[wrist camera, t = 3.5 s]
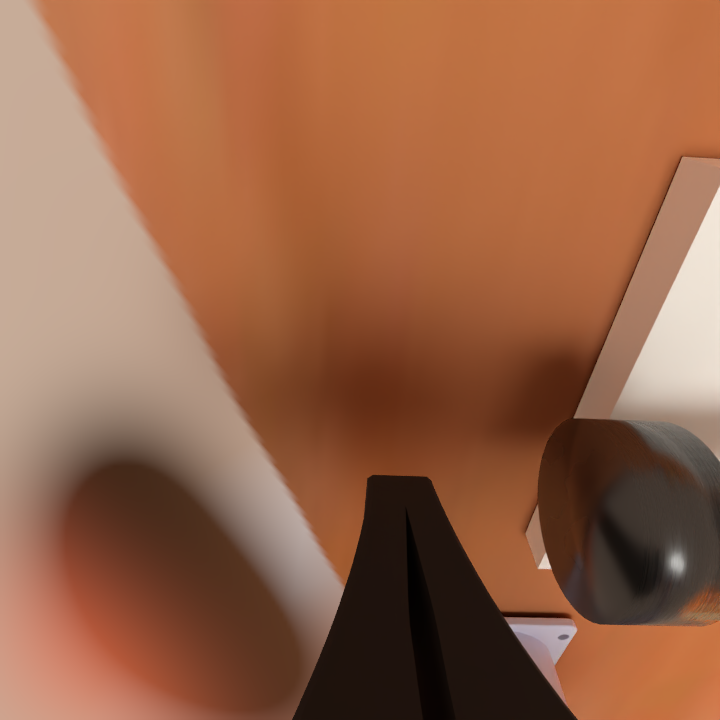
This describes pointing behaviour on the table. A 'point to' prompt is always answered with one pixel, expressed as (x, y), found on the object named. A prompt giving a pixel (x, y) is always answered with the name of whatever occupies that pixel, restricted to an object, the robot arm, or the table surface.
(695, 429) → the shaft stand
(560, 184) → the table surface
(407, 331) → the table surface
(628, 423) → the shaft
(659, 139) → the table surface
